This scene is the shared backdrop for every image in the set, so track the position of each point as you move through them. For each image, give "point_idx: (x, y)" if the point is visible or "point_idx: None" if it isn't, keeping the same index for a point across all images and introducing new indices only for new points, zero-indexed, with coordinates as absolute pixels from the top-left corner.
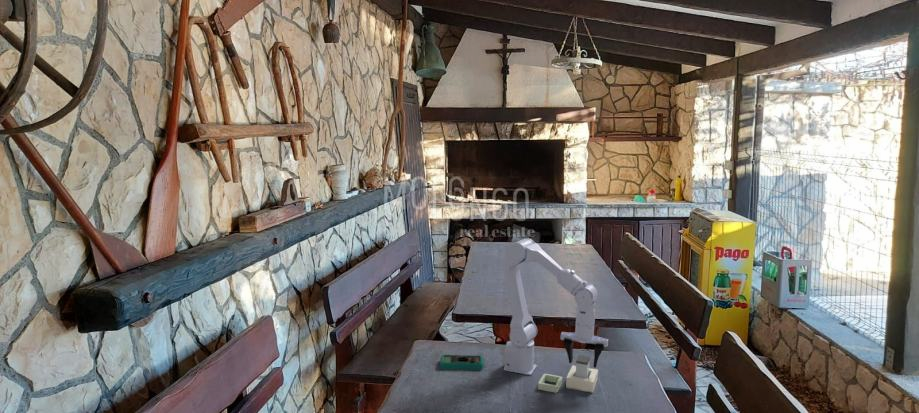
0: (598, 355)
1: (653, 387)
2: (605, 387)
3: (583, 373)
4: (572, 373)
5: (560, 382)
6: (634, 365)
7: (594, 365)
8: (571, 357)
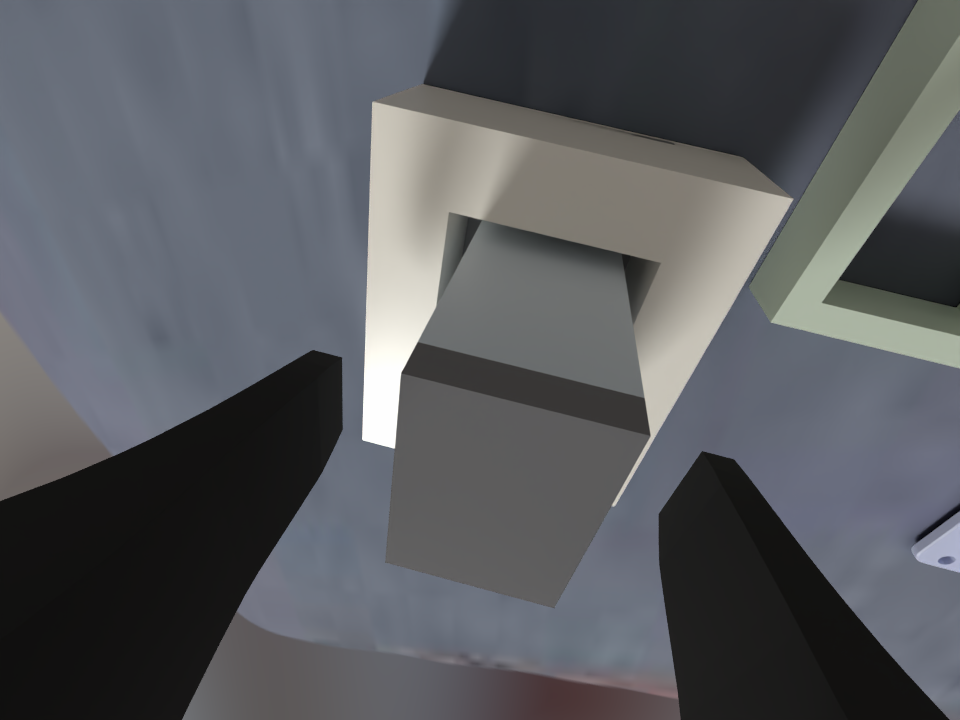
0: (35, 500)
1: (7, 307)
2: (317, 251)
3: (511, 274)
4: (655, 337)
5: (842, 189)
6: None
7: (309, 368)
8: (716, 550)
